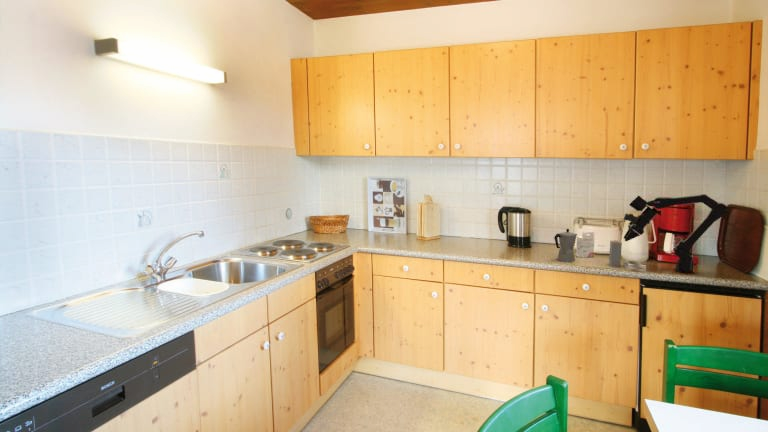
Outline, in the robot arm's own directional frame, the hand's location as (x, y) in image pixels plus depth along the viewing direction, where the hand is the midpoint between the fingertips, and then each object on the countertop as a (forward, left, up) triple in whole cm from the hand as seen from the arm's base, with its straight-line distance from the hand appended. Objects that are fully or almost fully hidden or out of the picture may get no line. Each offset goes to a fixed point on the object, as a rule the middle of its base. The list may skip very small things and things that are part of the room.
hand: (624, 239), depth 240 cm
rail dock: (-2, +9, -14) cm, 17 cm away
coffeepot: (+28, -9, -14) cm, 33 cm away
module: (+5, +1, -14) cm, 15 cm away
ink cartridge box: (+13, -20, -14) cm, 27 cm away
